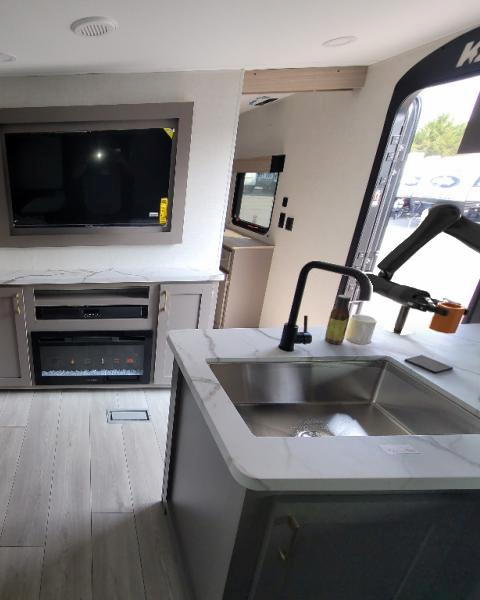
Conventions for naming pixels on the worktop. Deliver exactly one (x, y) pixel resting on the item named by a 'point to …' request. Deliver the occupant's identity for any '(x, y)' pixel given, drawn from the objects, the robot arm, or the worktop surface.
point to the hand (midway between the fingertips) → (457, 313)
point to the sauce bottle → (338, 321)
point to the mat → (428, 364)
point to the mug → (360, 329)
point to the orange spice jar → (447, 318)
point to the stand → (400, 322)
